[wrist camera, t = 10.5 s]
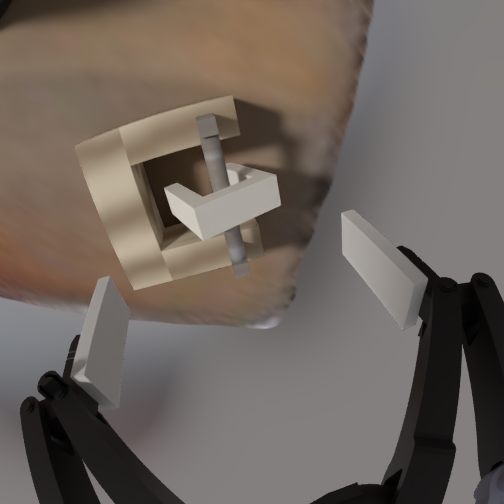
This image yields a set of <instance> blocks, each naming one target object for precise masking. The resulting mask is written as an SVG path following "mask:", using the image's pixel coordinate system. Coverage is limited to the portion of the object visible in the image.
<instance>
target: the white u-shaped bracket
mask: <svg viewBox="0 0 504 504" xmlns="http://www.w3.org/2000/svg"><path fill="white" fill-rule="evenodd" d="M225 165H226V169H227V173H228V178H229V182H230V186H229V187H226V188H224V189H221V190H219V191H216V192H214V193H212V194H209V195H207V196H204V197H202V196H200V195H199V194H197V193H195V192H193V191H191V190H190V189H188V188H186V187H184V186H182V185H180V184H179V183H175V184H172V185H170V186H167V187H165V188H164V190H165V193H166V196H167V199H168V202H169V205H170V208H171V211H172V214H173V215H174V216H176V217H177V218H178V219H179V220H180V221H181V222H182V223H183V224H185V225H186V226H187V227H188V228H189V229H190V230H191V231H193V232H194V233H195V234H196V235H197V236H198V237H199V238H201V239H202V240H203V241H205V240H207V239H209V238H211V237H213V236H216V235H218V234H220V233H222V232H224V231H226V230H228V229H230V228H233V227H235V226H237V225H239V224H241V223H243V222H246V221H248V220H250V219H252V218H254V217H256V216H259V215H261V214H263V213H265V212H267V211H270V210H272V209H274V208H276V207H278V206H281V202H280V196H279V189H278V183H277V177H276V175H275V174H271V173H268V172H264V171H261V170H257V169H253V168H250V167H246V166H242V165H238V164H234V163H227V164H225Z"/></svg>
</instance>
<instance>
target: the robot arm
mask: <svg viewBox="0 0 504 504" xmlns="http://www.w3.org/2000/svg"><path fill="white" fill-rule="evenodd" d="M10 2H11V0H0V18H1V16H2V15H3V14H4V12H5V10H6V9H7V7H8V6H9V4H10ZM341 219H342V254H343V255H344V256H345V257H346V259H347V260H348V261H349V262H350V263H351V265H352V266H353V267H354V268H355V270H356V271H357V272H358V273H359V274H360V276H361V277H362V278H363V279H364V281H365V282H366V283H367V284H368V286H369V287H370V288H371V289H372V291H373V292H374V293H375V295H376V296H377V297H378V298H379V300H380V301H381V302H382V304H383V305H384V306H385V307H386V309H387V310H388V311H389V313H390V314H391V315H392V317H393V318H394V319H395V320H396V322H397V323H398V325H399V326H400V327H401V329H402V330H405V329H407V328H409V327H411V326H413V325H415V324H416V321H417V318H418V315H419V317H420V318H421V319H422V320H423V322H422V325H421V328H420V331H419V334H418V336H420V341H419V349H418V355H417V361H416V367H415V373H414V378H413V383H412V388H411V393H410V398H409V402H408V407H407V411H406V415H405V418H404V422H403V426H402V430H401V433H400V437H399V440H398V443H397V447H396V450H395V453H394V456H393V458H392V461H391V463H390V464H389V466H388V469H387V471H386V473H385V475H384V478H383V481H382V483H381V485H379V484H362V485H358V483H357V482H356V483H354V484H352V485H349V486H346V487H344V488H341V489H338V490H336V491H333V492H330V493H328V494H326V495H324V496H322V497H321V498H319V499H317V500H316V501H314V502H312V503H310V504H442V502H443V499H444V495H445V492H446V489H447V486H448V482H449V478H450V475H451V471H452V467H453V463H454V458H455V453H456V447H455V444H454V443H453V441H452V440H453V433H454V427H455V421H456V414H457V406H458V399H459V389H460V378H461V377H460V376H461V361H462V344H463V349H464V353H465V357H466V362H467V367H468V372H469V378H470V383H471V390H472V396H473V403H474V411H475V421H476V431H477V446H478V462H479V471H480V476H481V481H480V482H479V484H478V486H477V488H476V490H475V491H474V498H475V499H476V503H475V504H504V302H503V300H502V297H501V295H500V293H499V291H498V289H497V286H496V285H495V282H494V281H493V279H492V278H491V277H490V276H489V275H487V274H484V273H475V274H474V275H473V276H472V278H471V281H470V282H469V283H461V284H458V283H457V282H455V281H454V280H453V279H451V278H447V277H441V278H440V277H439V276H438V275H437V274H436V273H435V272H434V271H433V270H432V269H431V268H430V267H429V266H428V265H427V264H426V263H424V262H422V260H421V259H420V258H419V257H417V255H416V254H415V253H414V252H413V251H411V250H410V249H408V248H406V247H404V246H399V247H395V246H394V245H393V244H392V243H391V242H389V241H388V240H387V239H386V238H385V237H384V236H383V235H382V234H381V233H380V232H378V231H377V230H376V229H375V228H374V227H373V226H372V225H370V224H369V223H368V222H367V221H366V220H365V219H364V218H362V217H361V216H360V215H359V214H358V213H357V212H355V211H354V210H350V211H346V212H342V213H341ZM129 317H130V310H129V308H128V307H127V305H126V303H125V301H124V300H123V298H122V296H121V295H120V293H119V291H118V289H117V287H116V286H115V284H114V282H113V280H112V278H111V276H107V277H103V278H100V279H98V282H97V285H96V288H95V291H94V294H93V297H92V300H91V303H90V306H89V309H88V312H87V315H86V319H85V322H84V325H83V329H82V332H81V334H80V335H76V337H75V338H74V340H73V341H72V343H71V346H70V349H69V354H68V357H67V361H66V364H65V369H64V373H63V377H60V375H59V374H58V373H57V372H56V371H48V372H47V373H45V374H44V375H43V376H42V377H41V378H40V380H39V382H38V392H39V393H40V394H42V395H43V396H44V397H45V398H46V399H44V400H42V401H40V402H39V401H38V400H37V399H36V398H35V397H32V396H30V397H27V398H26V399H25V400H24V401H23V403H22V404H21V407H20V417H21V425H22V431H23V438H24V443H25V448H26V454H27V458H28V463H29V467H30V472H31V476H32V479H33V483H34V487H35V490H36V493H37V497H38V500H39V503H40V504H101V503H100V501H99V499H98V497H97V495H96V493H95V491H94V488H93V486H92V484H91V481H90V479H89V477H88V474H87V471H86V469H85V466H84V464H83V461H84V462H85V464H86V466H87V467H88V468H89V470H90V471H91V473H92V474H93V476H94V477H95V478H96V480H97V481H98V482H99V484H100V485H101V487H102V488H103V489H104V490H105V492H106V493H107V494H108V496H109V497H110V498H111V499H112V500H113V502H114V503H115V504H185V503H184V502H182V500H180V499H179V498H178V497H177V496H176V495H175V494H174V493H172V492H171V491H170V490H169V489H168V488H167V487H166V486H165V485H164V484H163V483H162V482H161V481H160V480H159V479H158V478H157V477H156V476H155V475H154V474H153V473H151V471H150V470H149V469H148V468H147V467H146V466H145V465H144V464H143V463H142V462H141V461H140V460H139V459H138V458H137V456H136V455H135V454H134V453H133V452H132V451H131V450H130V449H129V447H127V445H126V444H125V443H124V442H123V441H122V439H121V438H120V437H119V436H118V434H117V433H116V432H115V431H114V430H113V428H112V427H111V426H110V425H109V423H108V422H107V421H106V419H105V418H104V417H103V415H102V414H101V413H100V412H99V411H98V404H99V405H100V406H101V407H103V408H104V409H105V410H111V409H119V401H120V389H121V378H122V368H123V360H124V351H125V344H126V337H127V329H128V323H129ZM82 459H83V461H82Z"/></svg>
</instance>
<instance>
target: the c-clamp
mask: <svg viewBox="0 0 504 504" xmlns="http://www.w3.org/2000/svg"><path fill="white" fill-rule="evenodd" d="M239 135H240V130H239V125H238V120H237V115H236V110H235V106H234V101H233V96H222V97H218V98H213V99H209V100H205V101H201V102H197V103H193V104H189V105H185V106H181V107H178V108H174V109H171V110H167V111H164V112H161V113H157V114H154V115H151V116H148V117H145V118H142V119H139V120H136V121H133V122H130V123H127V124H125V125H122V126H119V127H116V128H114V129H111V130H109V131H106V132H103V133H101V134H99V135H96V136H94V137H91V138H89V139H87V140H85V141H83V142H81V143H79V144H78V145H76V146H74V147H75V150H76V153H77V156H78V159H79V162H80V165H81V168H82V171H83V174H84V176H85V179H86V182H87V185H88V187H89V190H90V193H91V195H92V198H93V200H94V203H95V205H96V208H97V210H98V213H99V215H100V218H101V220H102V222H103V225H104V227H105V229H106V232H107V234H108V236H109V239H110V241H111V243H112V245H113V247H114V250H115V252H116V254H117V256H118V258H119V260H120V262H121V264H122V267H123V269H124V271H125V273H126V275H127V277H128V279H129V281H130V283H131V285H132V287H133V288H134V290H138V289H141V288H145V287H149V286H153V285H157V284H161V283H164V282H168V281H172V280H176V279H180V278H184V277H187V276H191V275H195V274H199V273H203V272H206V271H210V270H214V269H218V268H221V267H225V266H229V265H233V268H234V271H235V275H236V278H240V277H244V276H247V275H251V272H250V268H249V264H248V260H251V259H255V258H259V257H263V256H264V251H263V245H262V240H261V235H260V230H259V225H258V223H257V221H256V219H255V217H254V218H252V219H250V220H248V221H246V222H243V223H241V224H239V225H237V226H235V227H233V228H230V229H228V230H226V231H224V232H222V233H220V234H218V235H216V236H213V237H211V238H209V239H207V240H205V241H203V240H202V239H201V238H199V237H198V236H197V235H196V234H195V233H194V232H193V231H191V230H190V229H189V228H188V227H187V226H186V225H185V224H183V223H180V224H176V225H173V226H169V227H166V228H164V225H163V222H162V219H161V216H160V213H159V210H158V208H157V205H156V202H155V199H154V196H153V193H152V190H151V187H150V184H149V180H148V177H147V174H146V171H145V168H144V165H143V162H144V161H147V160H150V159H153V158H156V157H159V156H163V155H166V154H169V153H173V152H176V151H180V150H183V149H187V148H190V147H194V146H198V145H201V146H202V150H203V154H204V158H205V162H206V166H207V170H208V174H209V178H210V182H211V186H212V190H213V193H214V192H216V191H219V190H221V189H224V188H226V187H229V186H230V182H229V178H228V173H227V169H226V165H225V160H224V156H223V151H222V147H221V143H220V140H222V139H226V138H230V137H235V136H239Z"/></svg>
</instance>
